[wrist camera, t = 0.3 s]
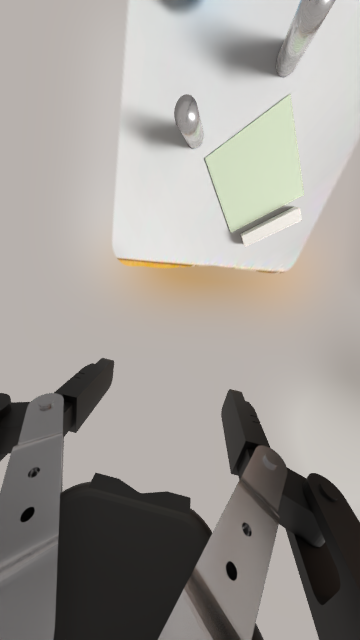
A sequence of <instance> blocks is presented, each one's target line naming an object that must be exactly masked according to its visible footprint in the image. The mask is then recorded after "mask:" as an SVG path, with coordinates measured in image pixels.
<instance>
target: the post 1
mask: <svg viewBox="0 0 360 640" xmlns="http://www.w3.org/2000/svg"><path fill="white" fill-rule="evenodd" d="M174 116H175V121H176V124H177V126H178V128H179V129H180V131H181V133H182V134H183V136H184V138H185V140H186V141H187V143H188V145H189V146H190V147H191V148H193V149H196V148H198V147H199V146H200V145H201V144H202V142H203V137H204V133H203V128H202V124H201V120H200V116H199V112H198V107H197V103H196V101H195V99H194V98H193V97H192V96H191V95H183V96H182V97H180V98H179V100H178V101H177V103H176V106H175V111H174Z"/></svg>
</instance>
